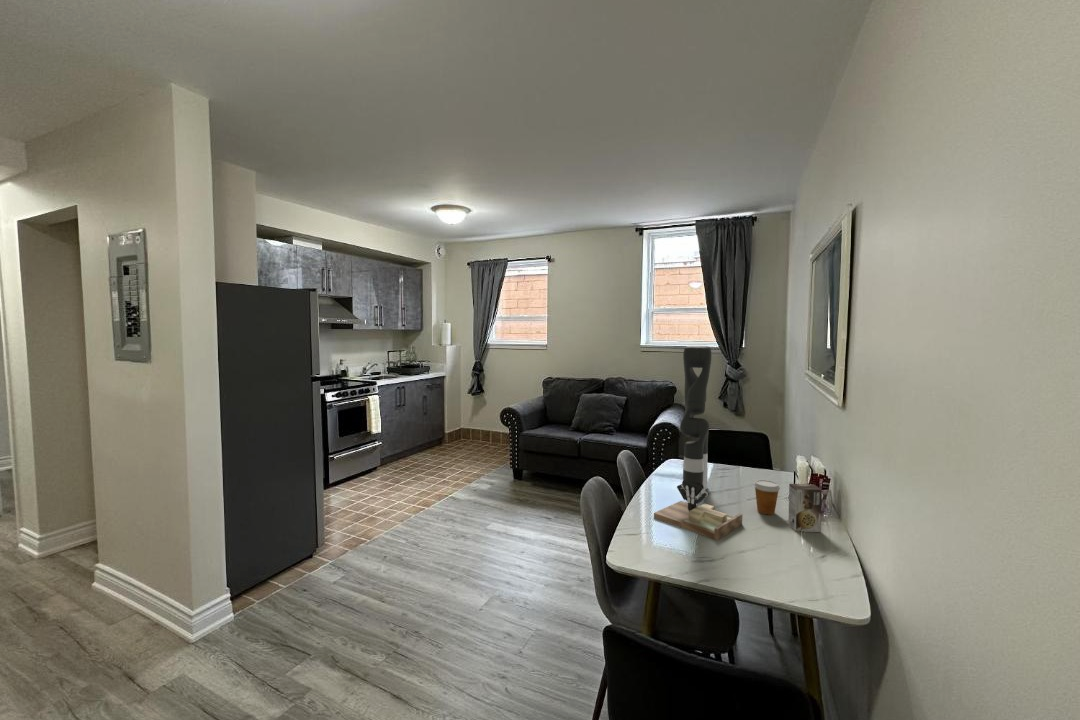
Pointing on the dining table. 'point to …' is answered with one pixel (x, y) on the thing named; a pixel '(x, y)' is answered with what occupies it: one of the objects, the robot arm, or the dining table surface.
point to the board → (680, 518)
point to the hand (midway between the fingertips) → (691, 512)
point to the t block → (707, 515)
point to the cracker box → (805, 507)
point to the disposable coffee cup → (766, 496)
